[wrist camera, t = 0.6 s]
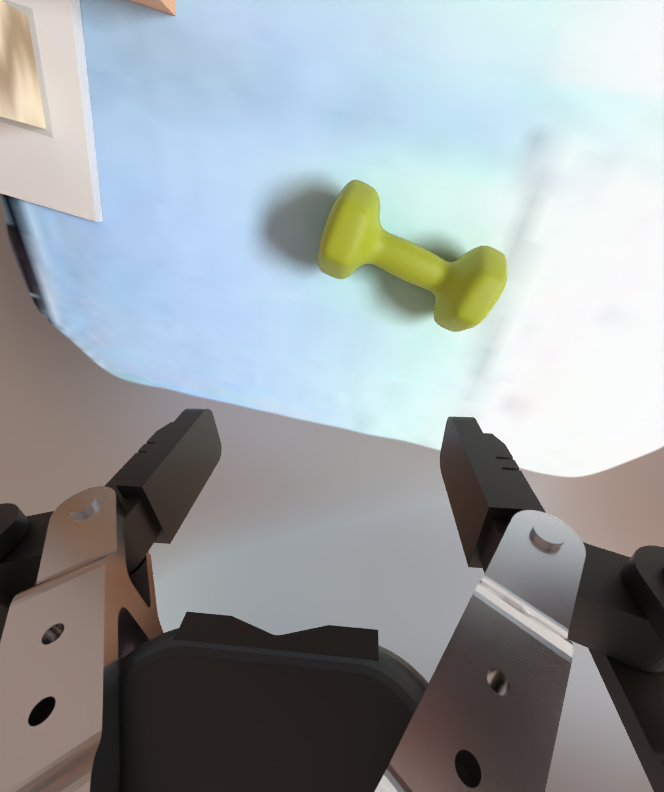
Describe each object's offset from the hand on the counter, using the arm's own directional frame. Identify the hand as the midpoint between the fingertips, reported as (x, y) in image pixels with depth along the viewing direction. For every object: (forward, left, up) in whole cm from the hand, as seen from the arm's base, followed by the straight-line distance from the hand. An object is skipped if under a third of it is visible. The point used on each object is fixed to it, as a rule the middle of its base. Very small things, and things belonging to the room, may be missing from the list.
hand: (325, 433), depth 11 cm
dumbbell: (-4, +4, -26) cm, 27 cm away
